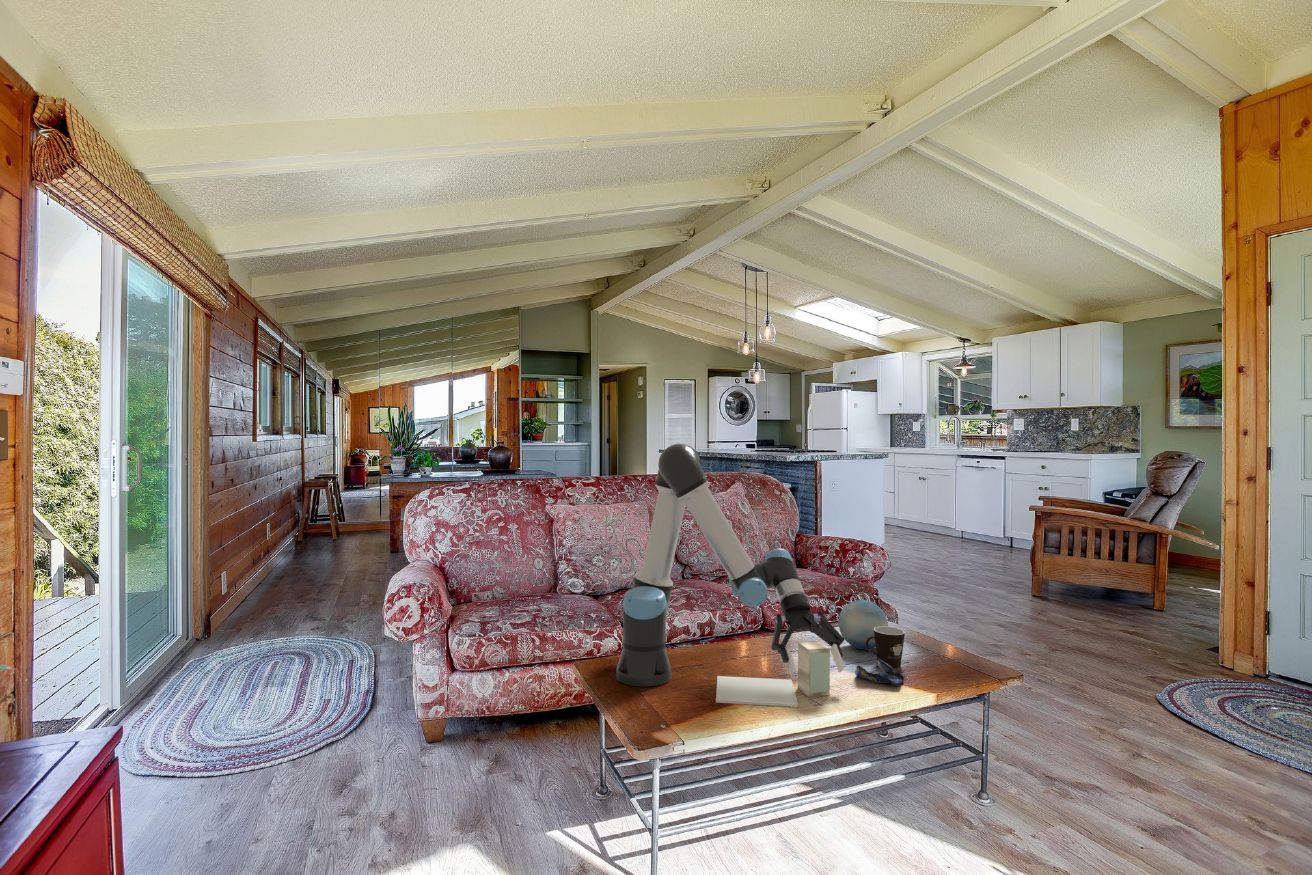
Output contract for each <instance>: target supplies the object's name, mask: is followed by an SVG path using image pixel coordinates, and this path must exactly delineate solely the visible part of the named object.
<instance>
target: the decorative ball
mask: <svg viewBox="0 0 1312 875" xmlns="http://www.w3.org/2000/svg"><path fill="white" fill-rule="evenodd" d="M876 627H889V621H888V618H887V617H886V613H884V611H883V609H882V608H881V607H880V606H878V605H877V604H875V602H872V601H869V600H864V599H863V600H862V599H859V600H853V601H851V602H849V603H848V604H846V605H845V606H844V607H843V608H842V610H841V611H840V613H839V617H838V629H839V633H840V635H841V636H842V637H843V638H844V641H846V643H848V644H849V645H850V646H852V647H853V648H856V649H859V650H868V648H867V647H866V641H867V639H868V638H869V637H872V636H873V637H874V628H876ZM868 646H869V648H870V649H871V650H872V649H876V646H875V639H870V640H869V642H868Z"/></svg>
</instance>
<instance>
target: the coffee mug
mask: <svg viewBox="0 0 1312 875" xmlns="http://www.w3.org/2000/svg"><path fill="white" fill-rule="evenodd" d="M905 635H906V632H905V630H903V629H901V628H898V627H893V626H888V627H876V628H874V637H873V636H872V637H869V638H868V639H867V641H866V647H867V648H868V649H867V650H868V651H869V652H870V653H872V654H873V655H875V656H876V662H877V665H878V659H880V660H882V661H884V662H885V663H887V664H888V665H890V666H891V667H892V668H893V669H894V670H895V669H900V668H901V666H902V658H903V657H902V656H903V650H904V642H905ZM870 639H875V646H876V647H875V651H873V650H872V649H870V648H869V646H868V642H869V640H870Z"/></svg>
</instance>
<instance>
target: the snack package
mask: <svg viewBox="0 0 1312 875" xmlns="http://www.w3.org/2000/svg"><path fill="white" fill-rule="evenodd" d="M877 666H878V667H879V668H880V670H882V671H873V672H869V671H868V670H866V669H865V668H864V667H862V666H861V665H856V668H855V671H854V675H855V676H856V678H864V679H866V680H870V681H872V682H874V683H880V684H889V683H890V684H892V685H894V686H896V687H899V685H900V684H902V683H903V682H904V680H905V679H904V678H905V677H904V675H902V674H901V673H900V672H896V671H895V669H893V668H892V667H891V666H890V665H888V664H887V663H885V662H884V661H882V660H880V659H878V664H877ZM874 670H877V668H875V667H874Z"/></svg>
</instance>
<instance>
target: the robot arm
mask: <svg viewBox="0 0 1312 875" xmlns="http://www.w3.org/2000/svg"><path fill="white" fill-rule="evenodd" d="M708 484H709V480H708V479H707V477H706V475H705V474H704V471H703V469H702V465H701V458H700V455H699V454H698V452H697V451H696V449H695V448H693V447H692V446H690V445H688V444H685V443H675V444H671V445H669V446H668V447H666V448H665V449H664V450H663V451H662V452H661V454H660V456H659V458H658V471H657V475H656V480H655V487H656V489H657V492H658V494H657V498H656V503H655V508H654V512H653V517H652V521H651V525H650V526H651V527H650V530H649V534H648V539H647V542H646V548H645V551H644V552H645V553H644V558H643V562H642V566H641V570H640V571H639V572H636V573H635V575H634V578H633V583H632V587H631V588H630V589H628V590H627V591H626V592H625V593H624V595H623V601H622V609H623V610H622V611H623V612H622V613H623V616H622V617H623V618H622V619H623V620H622V624H623V625H622V626H623V629H622V642H623V643H622V650H621V653H620V656H619V659H618V663H617V666H616V670H615V672H616V673H615V677H616V680H617V681H618V682H620V683H622V684H624V685H627V686H631V687H645V688H647V687H656V686H661V685H664V684H667V683H668V682H670V681H671V679H672V666H671V663H670V660H669V656H668V653H667V650H666V649H667V648H666V624H667V623H666V622H667V614H668V610H669V608H670V601H671V596H672V593H673V592H672V591H673V588H674V582H673V580H672V579H671V573H672V569H673V568H672V567H673V563H674V559H675V555H676V550H677V545H678V541H679V537H680V533H681V528H682V524H683V519H684V515H685V510H686V508H687V509H688V510H689V512H690V514H691V516H692V517H693V519H694V521H695V523H696V524H697V526H698V528H699V529H700V530H701V532H702V534H703V536H704V537H705V539H706V541H707V542H708V544H709V546H710V547H711V550H712V551H713V553H714V554H715V555H716V558H717V559H718V560H719V563H720V564H721V566H722V567H723V569H724V570H725V573H726V574H727V577H728V581H729V585H730V588H731V592H732V595H733V596H734V597H737V598H738V597H739V598H740V600H741V601H742V602H743V604H745V605H746V606H749V607H759V606H761V605H763V604H764V603H765V601H766V600H767V597H768V593H769V592H768V589H771V588H774V589H775V590H774V591H775V593H776V596H777V598H778V599H777V600H778V602H779V605H780V609H781V610H782V614H783V615H781V614H780V613H777V614H776V615H775V617H774V625H775V626H774V630H773V631H774V632H773V637H772V642H771V650H772V651H777V653H778V654H779V655H780V657H781V660H782V662H783V663H784V664H786V666H787V669H788V672H789V676H790V677H794V676H795V674H796V673H797V667H796V665H795V663H794V659H793V656H792V653H791V650H790V647H787V645H788V643H789V641H790V638H791V636H792V634H793V632H794V631H796V632H797V633H799V632H808V631H809V633H813V634H814V635H816V636H817V637H818V638H820V639H821V640H822V641H824V642H825V643H826V644H827V645H829V648H830V654H831V655H832V657H833V660H834V664H835V666H836V669H837V671H838V673H841V672H842V671H843V670H844V669H845V667H846V666H845V663H844V661H843V658H842V657H844V655H843V652H842V648H841V646H842V644H843V643H844V641H845V639H844V638H843V636H842V635H841V633H840V631H838V630H837V629H836V628H835V627H834V626H833V624H832V623H830V621H828V620H827V618H826V616H825V614H824V613H823V611H819V612H818V613H813V612H812V611H811V608H810V607H811V606H810V604H809V602H808V599H807V596H806V592H805V591H804V590H805V589H804V588H803V584H802V583H801V579H800V577H799V575H798V572H797V568H796V566H795V563H794V561H793V559H792V556H791V553H790V552H789V550H787V549H786V548H785V549H784V548H774V549H772V550H771V551H769V552H767V553H766V555H765V557H764V559H765V560H764V561H762V562H760V563H755V564H754V563H753V560H752V559H751V558H750V556H749V554H748V553H747V551H746V549H745V547H744V546H743V544H742V543H741V541H740V539H739V537H738V536H737V534H736V533H735V531H734V529H733V528H732V526H731V524H730V522H729V521H728V519H727V517H726V516H725V514H724V513H723V511H722V509H721V508H720V506H719V504H718V502H717V500H716V498H715V497H714V496H713V494H712V492H711V490H710V489H709V487H708ZM784 623H785V624H786V625H788V626H789V627H788V629H787V630H786V634H784V637H783V639H782V641H781V642H780V637H781V632H782V627H783V624H784Z"/></svg>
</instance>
